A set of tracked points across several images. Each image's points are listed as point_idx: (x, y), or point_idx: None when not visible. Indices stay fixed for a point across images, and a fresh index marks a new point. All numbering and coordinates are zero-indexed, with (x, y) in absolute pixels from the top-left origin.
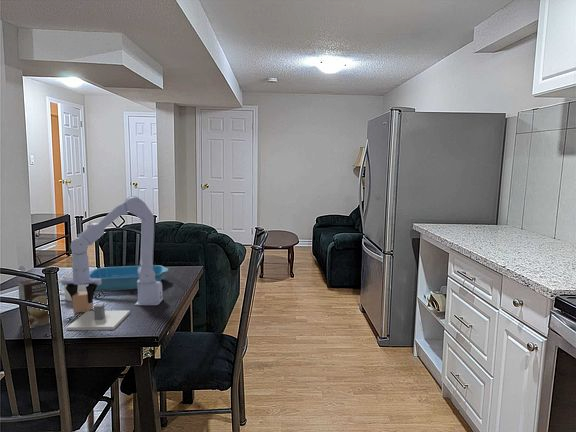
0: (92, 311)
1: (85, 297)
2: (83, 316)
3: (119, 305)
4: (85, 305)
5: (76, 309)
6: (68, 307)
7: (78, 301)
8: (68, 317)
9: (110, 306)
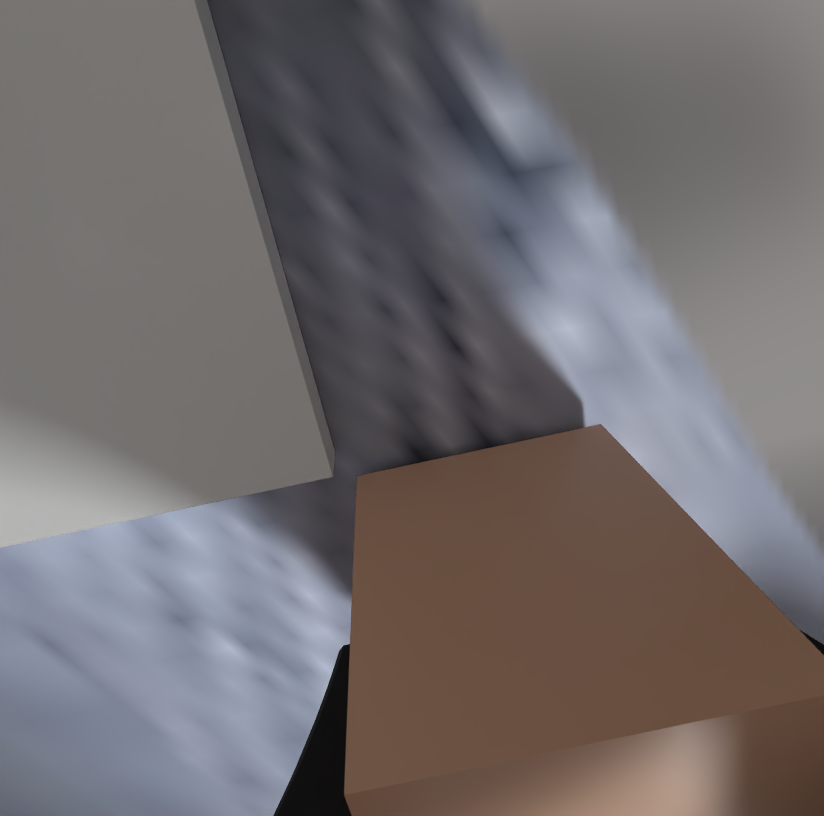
0: (215, 469)
1: (370, 717)
2: (168, 169)
3: (104, 799)
4: (382, 545)
5: (560, 459)
6: (809, 604)
7: (567, 580)
8: (565, 209)
9: (203, 749)
